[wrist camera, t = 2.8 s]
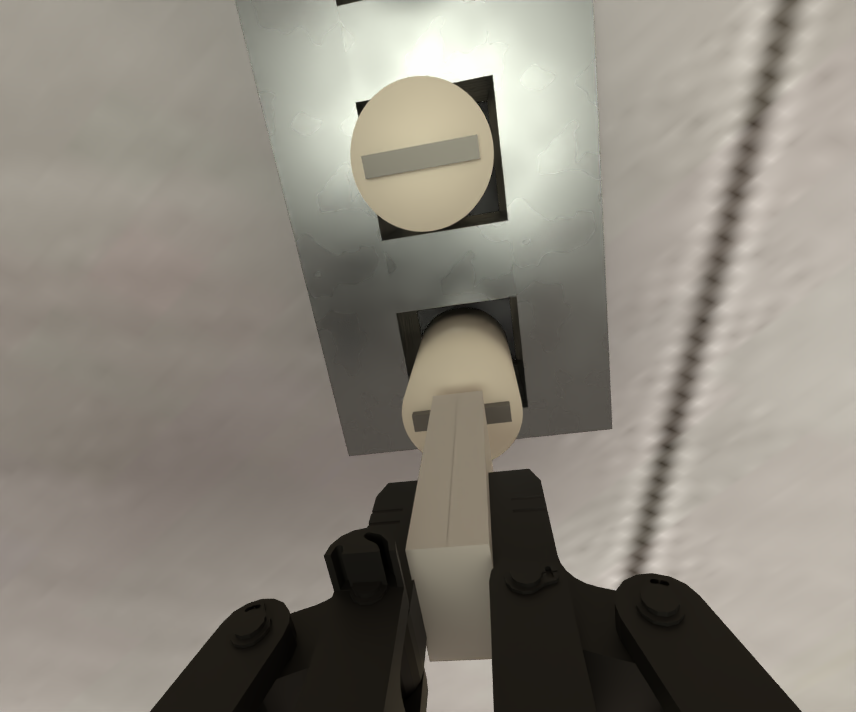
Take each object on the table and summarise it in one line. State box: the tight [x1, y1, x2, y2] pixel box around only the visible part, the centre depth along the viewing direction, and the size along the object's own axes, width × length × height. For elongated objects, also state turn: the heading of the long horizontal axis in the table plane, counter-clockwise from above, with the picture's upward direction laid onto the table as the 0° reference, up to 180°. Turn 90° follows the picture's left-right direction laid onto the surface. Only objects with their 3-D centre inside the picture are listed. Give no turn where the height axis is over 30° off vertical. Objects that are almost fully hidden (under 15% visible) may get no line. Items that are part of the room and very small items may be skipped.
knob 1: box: [350, 76, 494, 232], centre depth 16 cm, size 4×4×7 cm
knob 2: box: [402, 307, 523, 460], centre depth 19 cm, size 4×4×7 cm
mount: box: [235, 0, 612, 456], centre depth 21 cm, size 12×24×6 cm, turn 9°
